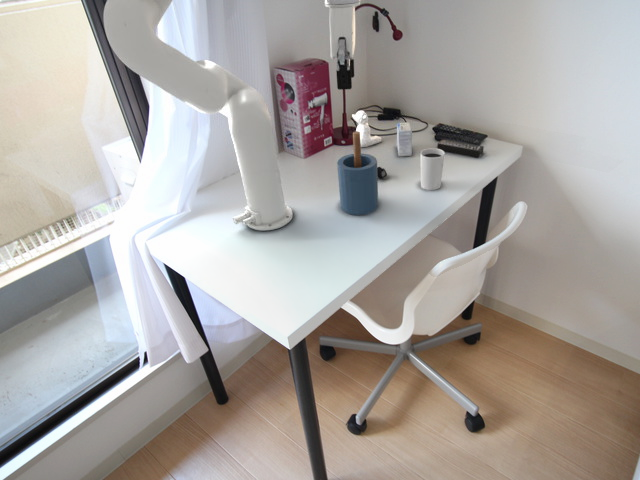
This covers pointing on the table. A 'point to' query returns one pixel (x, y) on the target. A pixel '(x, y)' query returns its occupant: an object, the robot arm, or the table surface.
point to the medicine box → (404, 139)
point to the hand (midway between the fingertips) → (346, 83)
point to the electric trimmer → (381, 173)
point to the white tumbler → (431, 168)
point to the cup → (358, 184)
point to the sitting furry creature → (365, 130)
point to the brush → (357, 149)
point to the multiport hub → (461, 148)
